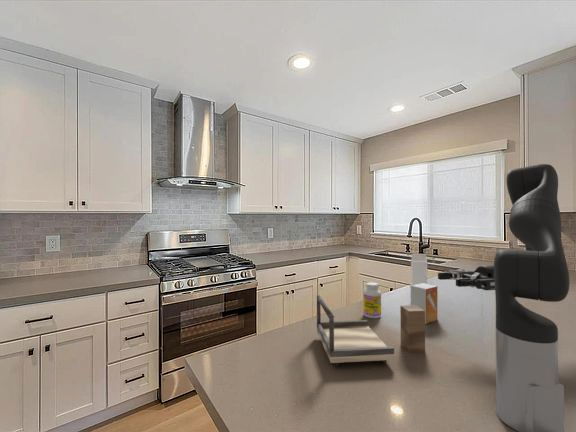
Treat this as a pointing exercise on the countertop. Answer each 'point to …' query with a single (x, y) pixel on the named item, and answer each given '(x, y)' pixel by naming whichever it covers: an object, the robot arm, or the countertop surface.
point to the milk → (418, 269)
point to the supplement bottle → (372, 300)
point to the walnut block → (412, 328)
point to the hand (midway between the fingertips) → (447, 279)
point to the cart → (350, 339)
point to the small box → (425, 300)
